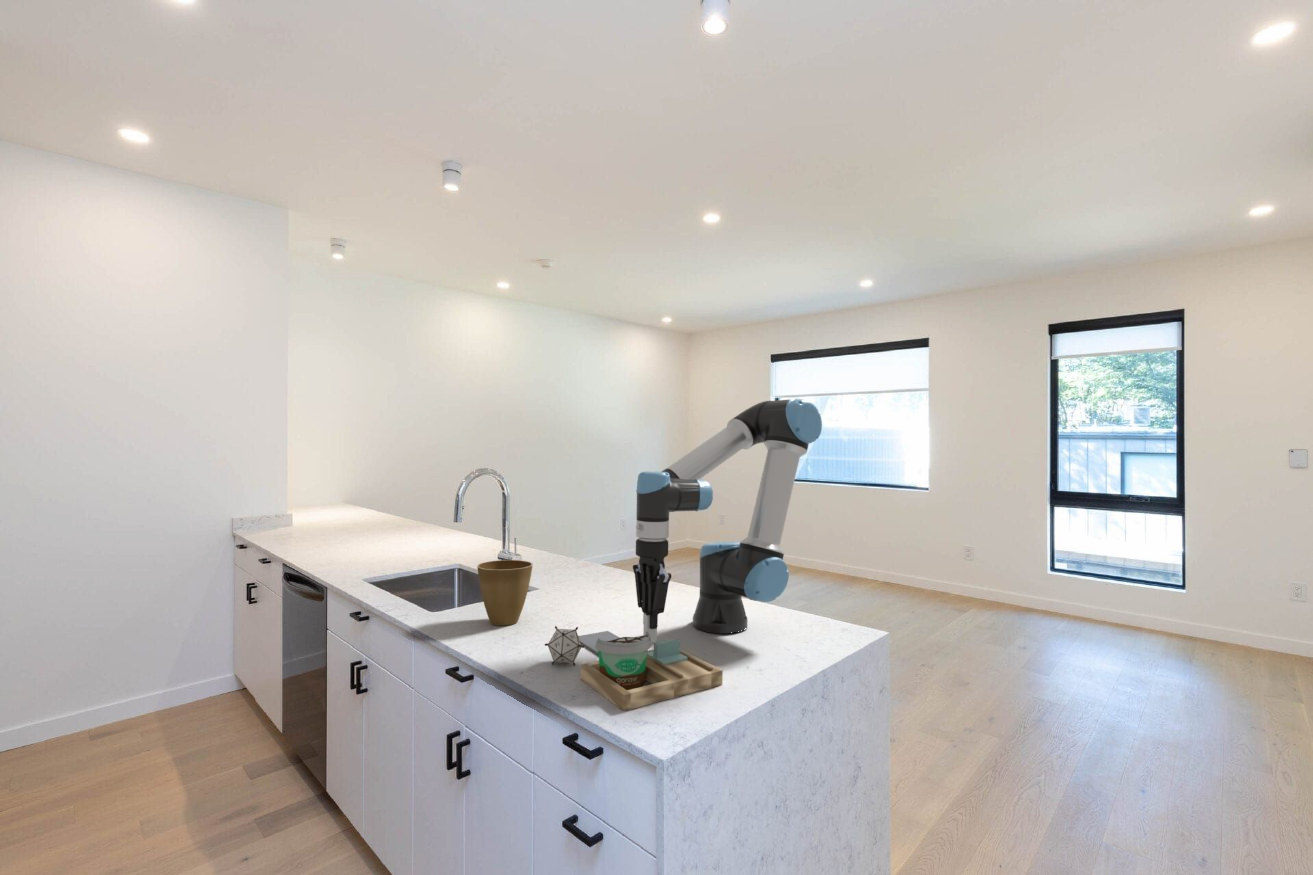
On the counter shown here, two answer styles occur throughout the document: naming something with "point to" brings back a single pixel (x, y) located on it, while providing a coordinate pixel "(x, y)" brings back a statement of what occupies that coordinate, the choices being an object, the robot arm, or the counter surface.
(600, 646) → the food container
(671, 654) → the cover
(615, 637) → the mat
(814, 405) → the robot arm
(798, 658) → the counter surface
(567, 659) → the game die
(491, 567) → the plant pot
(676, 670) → the wooden compartment tray
